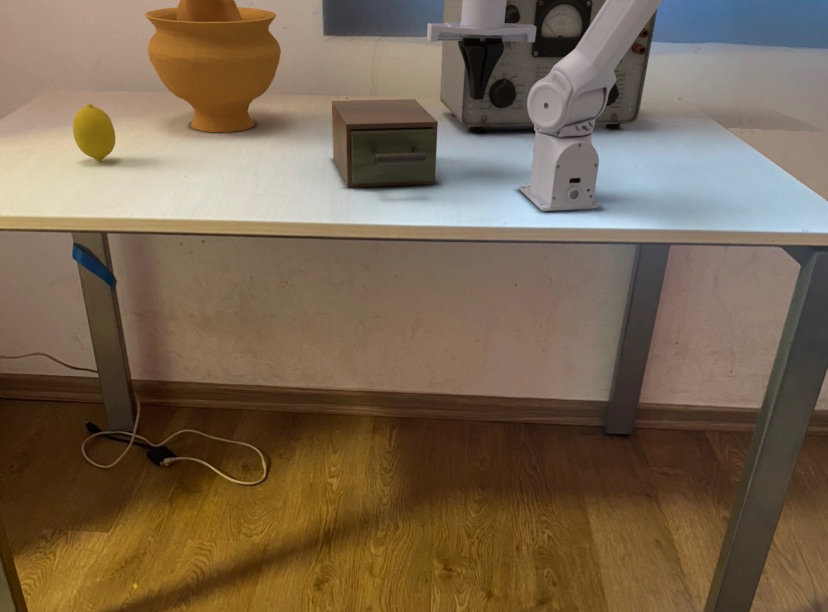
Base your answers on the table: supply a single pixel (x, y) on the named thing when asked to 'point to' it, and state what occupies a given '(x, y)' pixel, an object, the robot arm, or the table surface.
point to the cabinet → (375, 117)
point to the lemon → (94, 132)
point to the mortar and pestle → (214, 59)
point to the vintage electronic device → (539, 65)
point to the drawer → (392, 155)
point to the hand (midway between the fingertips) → (476, 98)
